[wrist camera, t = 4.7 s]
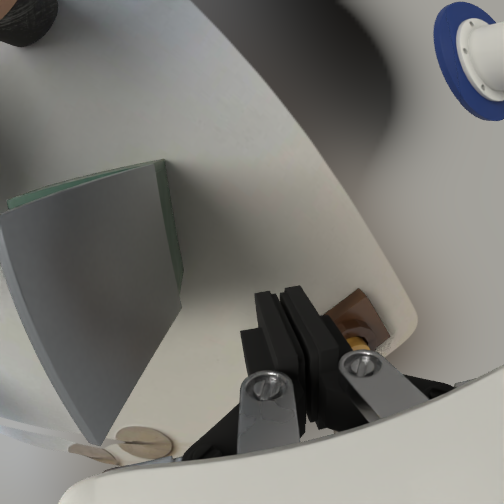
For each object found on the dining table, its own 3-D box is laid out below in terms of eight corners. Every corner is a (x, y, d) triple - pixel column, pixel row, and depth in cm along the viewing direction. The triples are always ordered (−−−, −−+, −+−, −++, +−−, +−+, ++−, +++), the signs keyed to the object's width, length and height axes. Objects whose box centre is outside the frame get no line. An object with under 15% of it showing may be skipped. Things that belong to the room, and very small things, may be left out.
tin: (70, 286, 32) (43, 321, 25) (44, 186, 28) (6, 200, 21) (183, 269, 34) (178, 305, 26) (164, 158, 30) (150, 163, 22)
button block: (358, 287, 37) (373, 302, 33) (383, 328, 40) (397, 344, 36) (291, 337, 38) (300, 356, 34) (322, 371, 41) (332, 391, 37)
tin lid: (88, 443, 13) (100, 447, 12) (-13, 219, 9) (-2, 216, 8) (173, 307, 26) (182, 307, 26) (144, 165, 22) (154, 163, 22)
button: (357, 330, 35) (363, 338, 33) (369, 348, 36) (375, 356, 34) (331, 349, 35) (336, 358, 34) (344, 365, 36) (350, 374, 35)
